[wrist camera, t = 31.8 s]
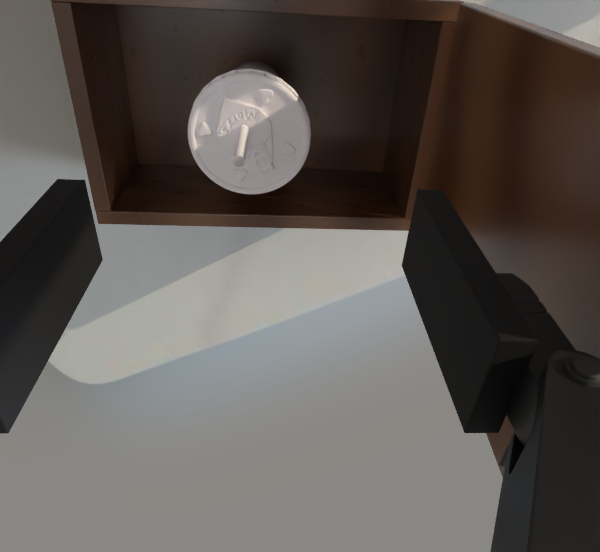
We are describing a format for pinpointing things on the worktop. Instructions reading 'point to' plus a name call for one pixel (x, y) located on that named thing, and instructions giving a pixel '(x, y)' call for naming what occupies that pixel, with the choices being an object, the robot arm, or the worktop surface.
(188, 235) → the worktop surface
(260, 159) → the smoothie
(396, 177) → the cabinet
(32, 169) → the worktop surface
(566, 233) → the wooden panel
